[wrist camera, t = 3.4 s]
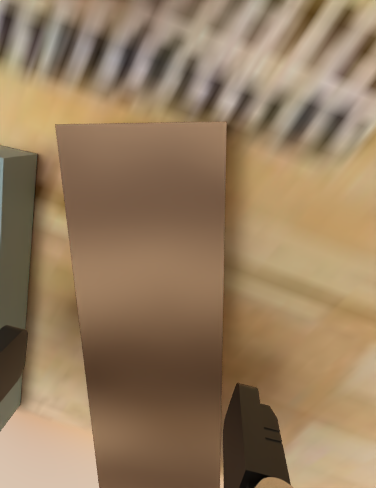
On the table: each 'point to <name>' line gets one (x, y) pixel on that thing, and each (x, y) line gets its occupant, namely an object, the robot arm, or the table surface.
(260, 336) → the table surface
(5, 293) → the peg frame
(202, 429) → the walnut board
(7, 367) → the robot arm
